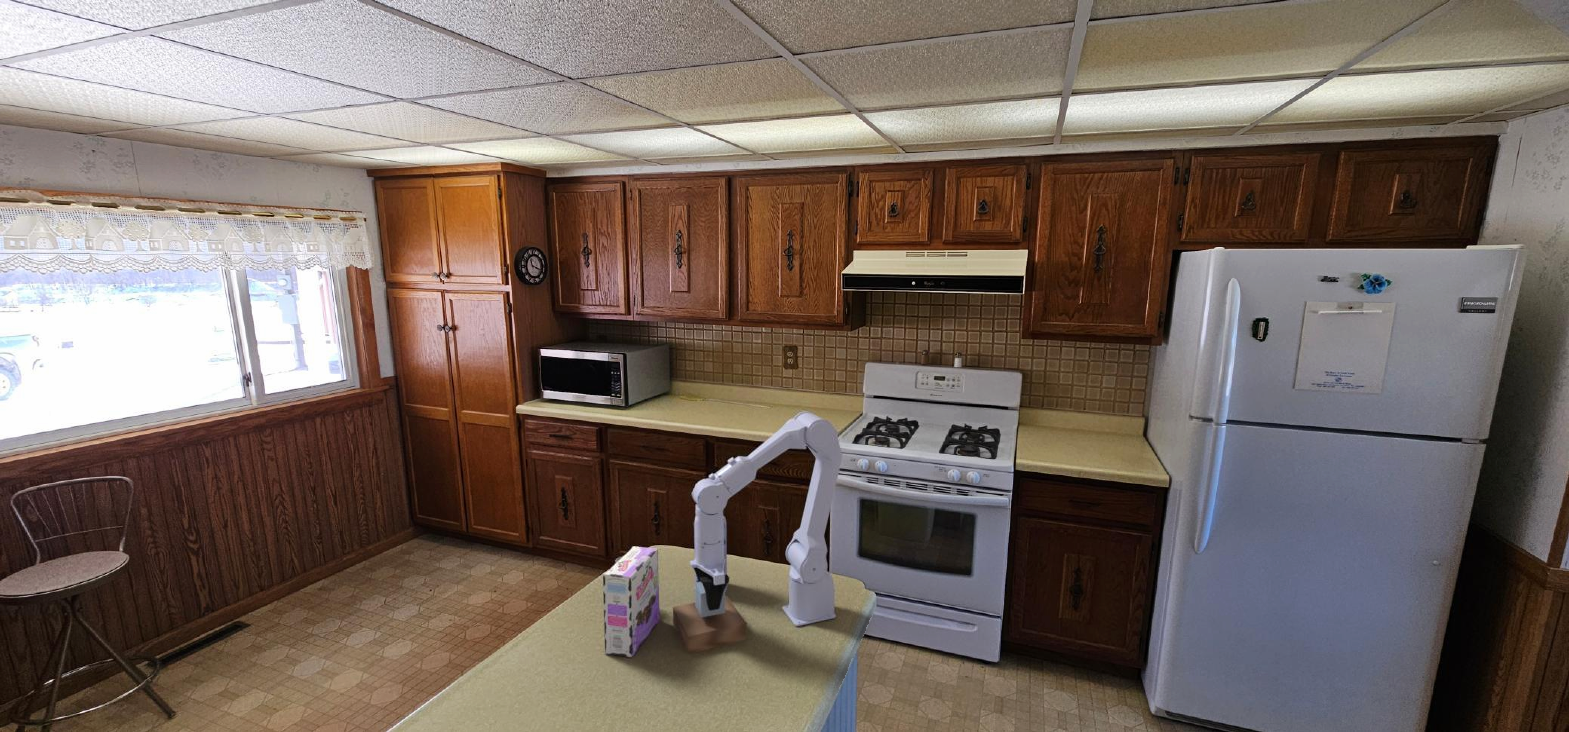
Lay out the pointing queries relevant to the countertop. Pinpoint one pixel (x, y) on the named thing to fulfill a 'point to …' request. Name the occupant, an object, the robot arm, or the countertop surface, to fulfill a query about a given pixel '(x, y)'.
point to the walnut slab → (708, 627)
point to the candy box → (631, 601)
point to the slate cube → (702, 602)
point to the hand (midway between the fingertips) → (710, 602)
